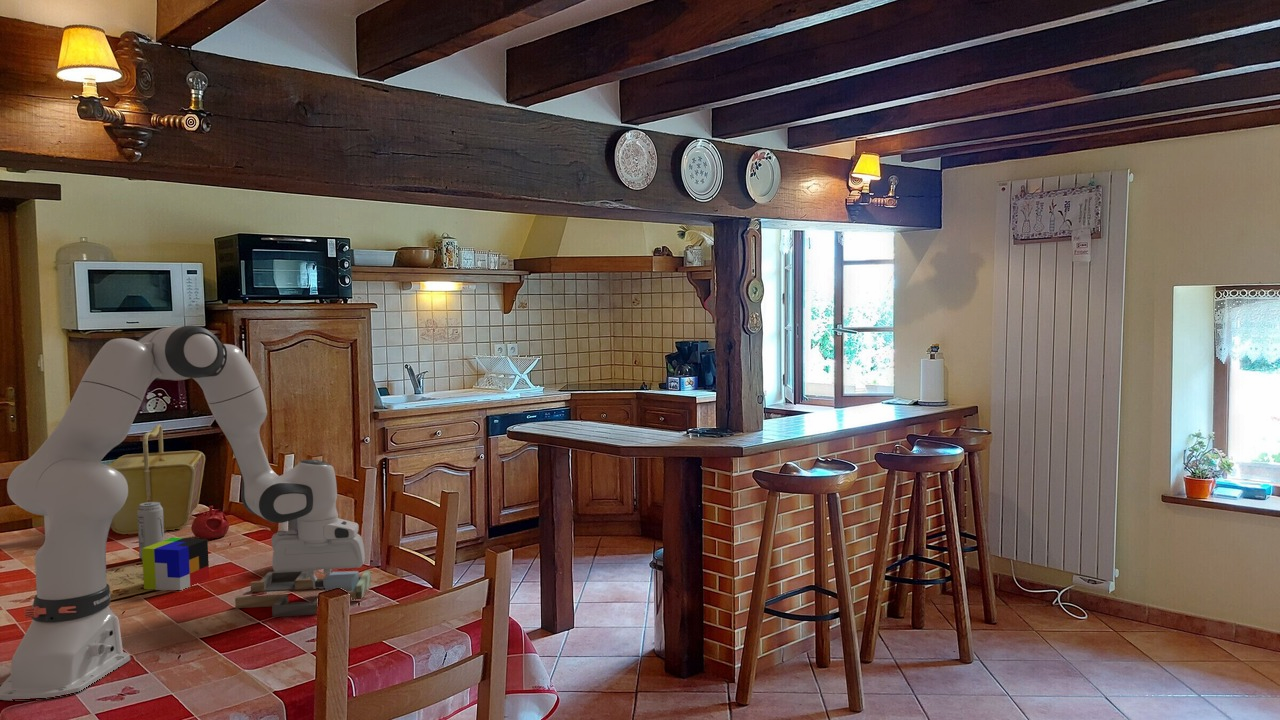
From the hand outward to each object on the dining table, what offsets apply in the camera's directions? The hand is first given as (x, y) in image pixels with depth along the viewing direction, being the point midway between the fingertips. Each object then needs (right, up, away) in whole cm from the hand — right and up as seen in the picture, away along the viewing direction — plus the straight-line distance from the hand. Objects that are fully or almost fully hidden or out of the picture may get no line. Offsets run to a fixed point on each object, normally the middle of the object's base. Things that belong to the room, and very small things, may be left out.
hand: (320, 587), depth 203 cm
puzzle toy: (-39, -2, +10) cm, 40 cm away
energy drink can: (-57, -1, +31) cm, 65 cm away
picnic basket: (-77, +1, +71) cm, 105 cm away
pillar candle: (-13, -1, +26) cm, 29 cm away
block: (+5, -2, 0) cm, 5 cm away
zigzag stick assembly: (-4, -2, -1) cm, 4 cm away
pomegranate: (-52, +1, +53) cm, 74 cm away
